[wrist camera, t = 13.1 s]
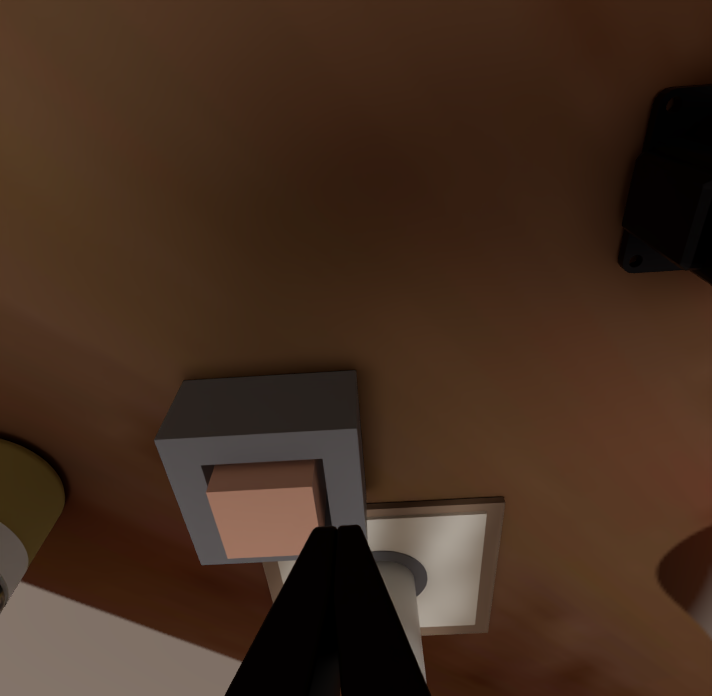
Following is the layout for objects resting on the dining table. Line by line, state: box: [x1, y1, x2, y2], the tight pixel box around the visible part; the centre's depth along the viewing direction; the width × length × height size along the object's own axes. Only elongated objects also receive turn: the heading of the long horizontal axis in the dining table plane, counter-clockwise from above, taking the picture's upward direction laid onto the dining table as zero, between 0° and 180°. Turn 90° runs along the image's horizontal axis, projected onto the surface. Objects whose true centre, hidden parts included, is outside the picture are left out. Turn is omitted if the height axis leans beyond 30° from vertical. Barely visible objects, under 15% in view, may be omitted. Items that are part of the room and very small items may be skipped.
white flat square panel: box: [262, 497, 505, 636], centre depth 30 cm, size 14×13×1 cm
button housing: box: [154, 370, 368, 565], centre depth 23 cm, size 8×8×4 cm
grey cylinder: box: [376, 561, 427, 684], centre depth 26 cm, size 4×4×9 cm
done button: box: [206, 459, 327, 559], centre depth 22 cm, size 4×4×4 cm
